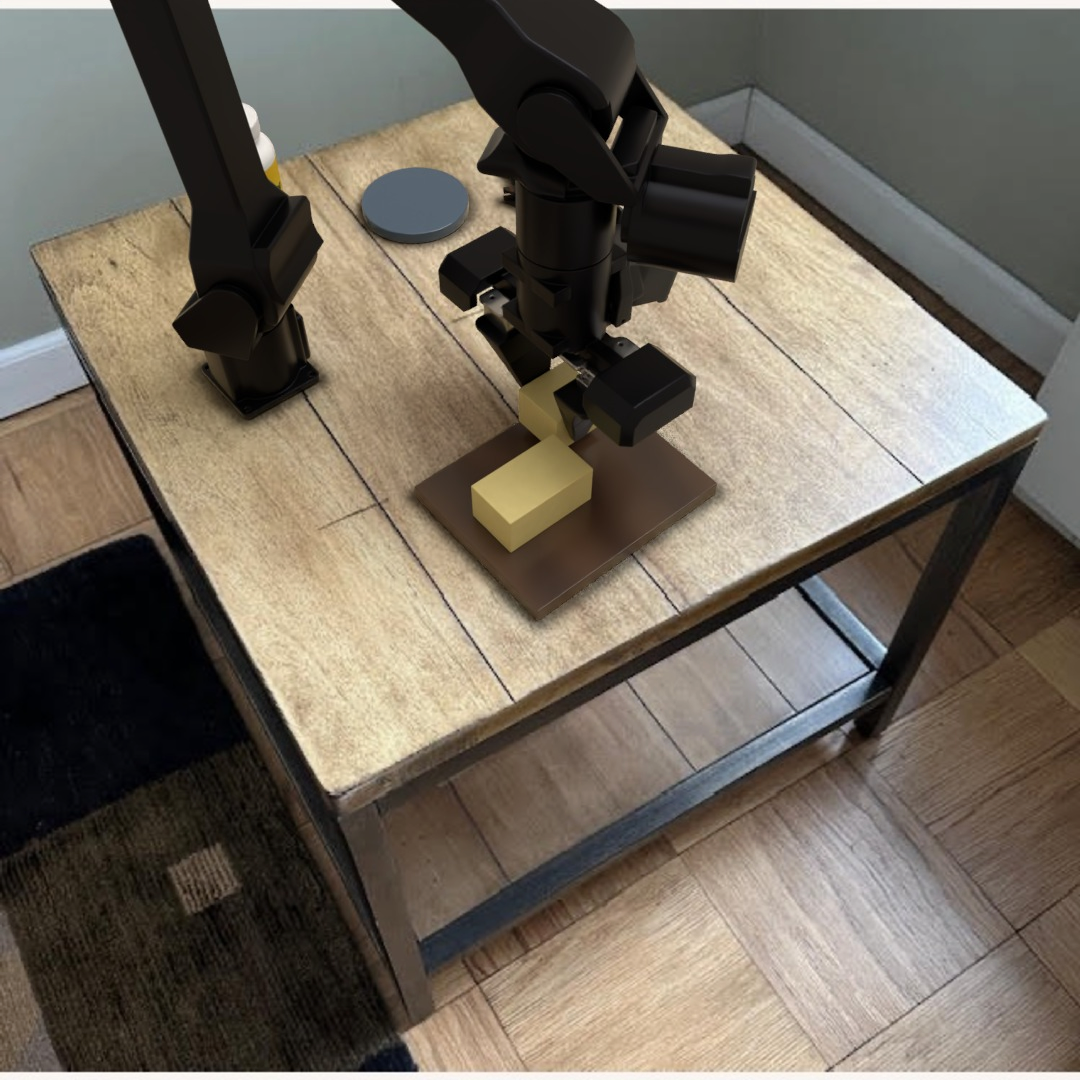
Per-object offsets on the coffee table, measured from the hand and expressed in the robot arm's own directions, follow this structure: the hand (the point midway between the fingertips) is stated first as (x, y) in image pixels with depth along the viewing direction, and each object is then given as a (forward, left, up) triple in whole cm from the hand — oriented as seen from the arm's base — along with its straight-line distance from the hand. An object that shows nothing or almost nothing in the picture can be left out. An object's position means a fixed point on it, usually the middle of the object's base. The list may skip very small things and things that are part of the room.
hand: (558, 419), depth 76 cm
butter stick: (-6, -4, -1) cm, 7 cm away
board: (-3, -4, -2) cm, 5 cm away
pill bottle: (-5, +33, -3) cm, 33 cm away
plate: (+8, +27, -2) cm, 29 cm away
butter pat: (0, 0, 0) cm, 0 cm away
